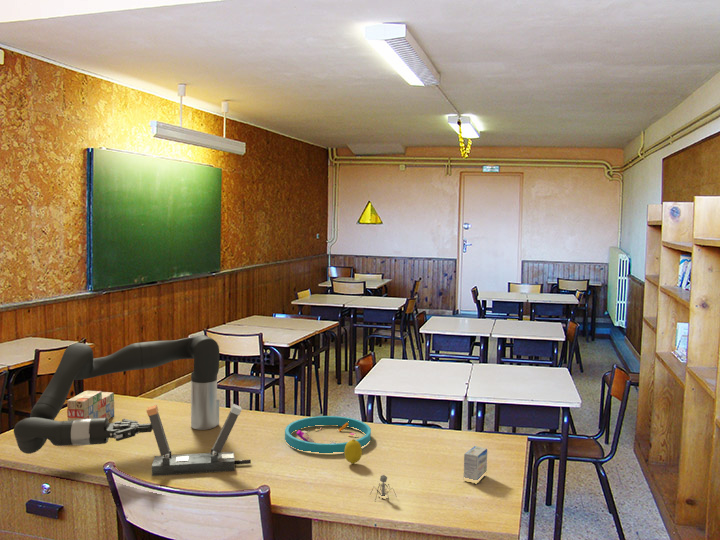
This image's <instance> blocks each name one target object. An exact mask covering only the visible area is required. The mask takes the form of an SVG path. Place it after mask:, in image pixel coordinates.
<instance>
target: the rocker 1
mask: <svg viewBox="0 0 720 540" xmlns="http://www.w3.org/2000/svg"><path fill="white" fill-rule="evenodd" d="M159 413H160V412H159V408H158V404H155V405H150V406H148V407H147V408H146V415H147V417H148V418H149V421H150V422H149V423H151V425H152V428H153V429H152V431H153V434H154V438H155V441H156V443H157V447H158V450H159V454H160V456H164V455H165V458H169V455H170V454H169V452H170V451H171V450H170V446H169V443H168V442H169V441H168V439H167V436H166V433H165V430H164V429H165V428H164V425H163V423H162V420H161V415H160V414H159Z"/></svg>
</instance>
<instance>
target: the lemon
mask: <svg viewBox="0 0 720 540" xmlns="http://www.w3.org/2000/svg"><path fill="white" fill-rule="evenodd" d="M356 440H357V439H355V438H353V439H351V440H349V441H347V442H348V443H347V444H346V446H345V450H344V453H345V454H344V457H345V459H346V461H347V462H349V463H351V464H352V463H354V464H355V463H357V462H359V461H360V460H361V458H362V455H363V449H362V448H361V445H360V443H359V442H358V441H356Z"/></svg>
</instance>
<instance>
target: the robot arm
mask: <svg viewBox="0 0 720 540" xmlns="http://www.w3.org/2000/svg"><path fill="white" fill-rule="evenodd" d="M177 360H193V371H192V372H191V375H190V428H191V429H194V430H197V431H198V430H199V431H200V430H201V431H204V430H205V431H206V430H211V429H214V428H216V427H217V426H219V425H220V399H219V398H218V374H219V371H220V346H219V344H218V342H217V341H216V340H215V339H213V338H212V337H210V336H208V335H205V334H200V335H195V336H190V337H184V338H180V339H175V340H155V341H154V340H153V341H142V342H135V343H134V342H133V343H131V344H129V345H126V346H124V347H122V348H121V349H119V350H117V351H115V352H113V353H111V354H109V355H107V356H102V357H101V356H100V357H96V358H95V357H94V352H93V349H92V347H91V346H90V345H88V344H86V343H82V342H76V343H72V344H71V345H69V346H68V347H66V348H65V350H64V352H63V354H62V357H61V359H60V361H59V364H58V366H57V368H56V370H55V372H54V374H53V376H52V377H51V379H50V381H49V383H48V385H47V386H46V388H45V389H44V391H43V392H42V394H41V395H40V397H39V398H38V400H37V401H36V402H35V404H34V405H33V407H32V408H31V410H30V415H29V417H24V418H23V419H21V420H19V421H17V422H16V423H15V425H14V426H13V435H14V437H15V440H16V443H17V447H18V449H19V450H20V452H22V453H23V454H30V455H31V454H34V453H36V452H38V451H40V450H41V449H42V448H43V446H45V444H46V442H47V440H48V441H49V442H50V443H51V444H52V445H54V446H56V447H59V446H60V447H61V446H66V447H67V446H91V445H92V446H93V445H105V444H107V443H108V442H109V439H115V441H116V442H119V441H123V440H126V439H129V438H132V437H136V435H138V434H141V433H142V434H143V433H151V432H152V431H153V428H152V425H151V422H149V423H139V422H138V420H133V419H128V418H123V419H122V420H119V421H114V422H110V421H109V420H110V419H108V418H90V419H80V420H72V421H68V420H62V421H59V420H56V418H57V417H58V414H60V412H61V410H62V408H63V406H65V405H64V404H65V402H67V401H66V400H67V398H68V396H69V393H70V391H71V387H72V385H73V383H74V381H81V380H88V379H92V378H97V377H101V376H105V375H109V374H115V373H123V372H128V371H135V370H136V371H138V370H145V369H146V370H147V369H153V368H156V367H161V366H163V365H165V364H168V363H170V362H174V361H177Z"/></svg>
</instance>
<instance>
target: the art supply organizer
mask: <svg viewBox="0 0 720 540" xmlns="http://www.w3.org/2000/svg"><path fill="white" fill-rule="evenodd" d="M348 421H349V422H348ZM315 425H338V426H337V427H339V426H342V427H339V428H338V432H340V431H341V430H342V431H343V430H344V429H345V428H346V427H347V426H349V427H354V428H357V429H359V430H361V431H362V432H364V433H365V434H366V435H365V434H364V435H363V436H362V437H360V438H358V439H355V440H356V441H358V442H359V443H360V445H361V447H362V446H364V445H366V444H367V443H368V442H369V441H370V440H372V439H371V438H372V437H371V436H372V432H371V431H372V429H371V427H370V426H369V424H367V423H365V422H364V421H361V420H358V419H356V418H350V417H347V416H339V415H319V416H310V417H308V416H307V417H305V418H299V419H296V420H294V421H292V422H290V423H289V424H287V425H286V427H285V429H284V441H285V440H286V442H287V443H288V444H289V445H290V446H292V447H294V448H296V449H299V450H303V451H311V452H319V453H333V452H344V450H345V446H346V444H347V443H348V442H349V441H346V442H339V443H337V442H335V441H334V440H333V441H329V443H323V442H321V443H319V442H316V441H315V440H313V438H312V437H310V436H309V435H308V432H310V430H308V431H307V430H302V429H301V428H304V427H308V426H315ZM315 427H316V426H315ZM321 428H322V427H320V429H321ZM298 429H301V430H298ZM295 430H298V431H296V432H295V433H296V435H297V436H298V437H299V438H300V439H299V438H297V437H295V436H293V433H292V432H293V431H295ZM342 431H341V432H342ZM291 433H292V434H291ZM348 434H349V435H350V434H351V435H354V434H356V433H354V432H349V433H348ZM356 435H357V434H356ZM286 442H285V443H286Z"/></svg>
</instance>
